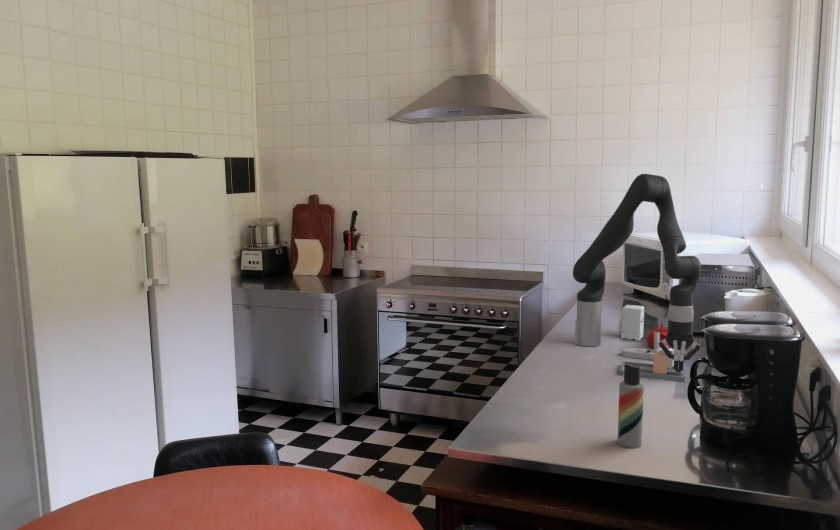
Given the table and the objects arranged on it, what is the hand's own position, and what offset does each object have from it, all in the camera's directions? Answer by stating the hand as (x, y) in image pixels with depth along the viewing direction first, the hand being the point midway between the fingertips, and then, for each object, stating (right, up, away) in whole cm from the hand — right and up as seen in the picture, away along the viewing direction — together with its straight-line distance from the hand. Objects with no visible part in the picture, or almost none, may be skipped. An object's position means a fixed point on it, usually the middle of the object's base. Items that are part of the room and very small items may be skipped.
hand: (678, 371), depth 214 cm
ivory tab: (-1, 0, +8) cm, 8 cm away
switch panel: (-6, -2, +6) cm, 9 cm away
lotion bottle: (-31, -10, -50) cm, 60 cm away
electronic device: (-3, +1, +25) cm, 26 cm away
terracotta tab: (-5, -1, +2) cm, 6 cm away
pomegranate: (+8, +3, +37) cm, 38 cm away
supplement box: (+2, +5, +53) cm, 53 cm away
